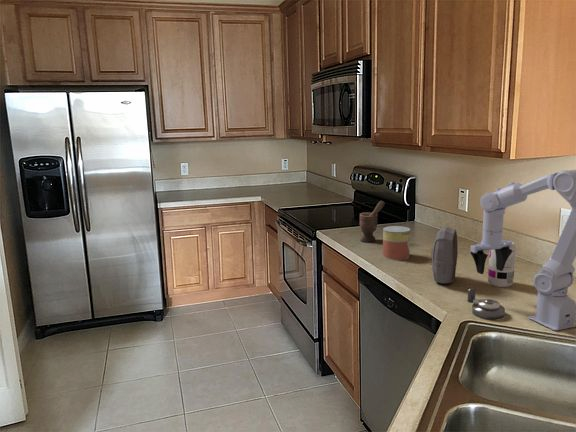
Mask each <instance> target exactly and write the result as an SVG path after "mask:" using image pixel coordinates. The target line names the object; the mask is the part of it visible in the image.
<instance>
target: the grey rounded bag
mask: <svg viewBox="0 0 576 432" xmlns="http://www.w3.org/2000/svg"><path fill="white" fill-rule="evenodd" d="M458 244H459V243H458V234H457V229H454V228H451V227H449V226H444V227H442V228H440V230H439V231H437V233H436V235H435V238H434V241H433V245H432V248H431V257H430V261H431V263H430V265H431V269H432V273H433V274H432V275H433V279H434V280H433V281H435V282H436V283H438V284H439V283H440V284H450V283H453V282H454V281H455V279H456V271H457V262H458V252H459V251H458Z"/></svg>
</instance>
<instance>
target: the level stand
mask: <svg viewBox="0 0 576 432" xmlns="http://www.w3.org/2000/svg"><path fill="white" fill-rule="evenodd" d="M471 313H472V315H474V316H475V317H477V318H479V319H483V320H490V321H496V320H497V321H498V320H502V319H504V318H505V315H506V308H505V307H504V306H503V305H501V304H500V308H499V309H498V310H485V309H481V308H480V307H478V304H476V303H472V309H471Z"/></svg>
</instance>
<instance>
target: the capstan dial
mask: <svg viewBox="0 0 576 432" xmlns="http://www.w3.org/2000/svg"><path fill="white" fill-rule="evenodd" d="M467 303H470V304H471V303H472V304H474V303H476V304H478V307H480V308H481V309H485V310H498V309H499V308H500V305H501V303H500V302H499V301H497V300H495V299H491V298H480V299H479V298H476V288H473V287H469V288H467Z"/></svg>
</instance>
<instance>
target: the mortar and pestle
mask: <svg viewBox="0 0 576 432" xmlns="http://www.w3.org/2000/svg"><path fill="white" fill-rule="evenodd" d="M385 204H386V203H385V201H383V200H380V201H379V202H378V203H377V204H376V206H375V208H374V210H373V211H372V212H361V213H359V227H360V230H361V232H362V233H363V234H362V235H361V237H360V242H363V243H371V242H376V240H377V239H376V237H375V236H374V232H375V231H376V230H377V226H378V219H379V218H378V215H379V214H378V213H379V212H380V211H381V210H382V208H383V207H384V206H385Z"/></svg>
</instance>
